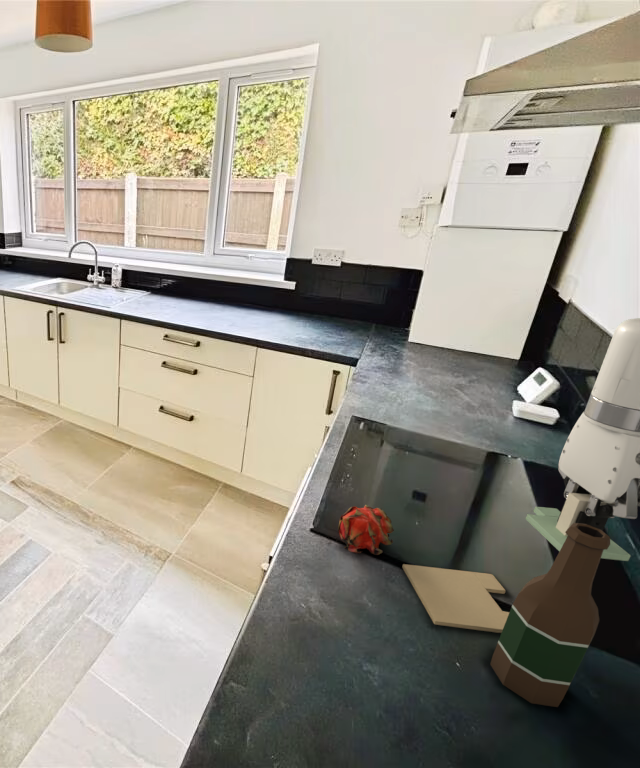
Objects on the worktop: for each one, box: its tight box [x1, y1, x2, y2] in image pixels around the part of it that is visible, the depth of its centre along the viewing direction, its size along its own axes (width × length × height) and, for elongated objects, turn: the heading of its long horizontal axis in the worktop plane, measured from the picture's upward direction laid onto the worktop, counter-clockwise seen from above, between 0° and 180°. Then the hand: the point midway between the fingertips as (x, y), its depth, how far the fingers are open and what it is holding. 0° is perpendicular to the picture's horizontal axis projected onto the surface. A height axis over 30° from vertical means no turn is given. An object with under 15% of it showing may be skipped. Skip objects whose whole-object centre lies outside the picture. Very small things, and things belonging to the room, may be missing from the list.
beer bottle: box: [489, 523, 611, 708], centre depth 56 cm, size 8×8×24 cm
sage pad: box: [525, 493, 632, 562], centre depth 66 cm, size 10×8×7 cm
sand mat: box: [401, 563, 510, 634], centre depth 72 cm, size 14×12×1 cm
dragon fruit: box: [337, 504, 395, 556], centre depth 83 cm, size 8×8×12 cm
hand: (577, 530), depth 66 cm, fingers closed on sage pad
